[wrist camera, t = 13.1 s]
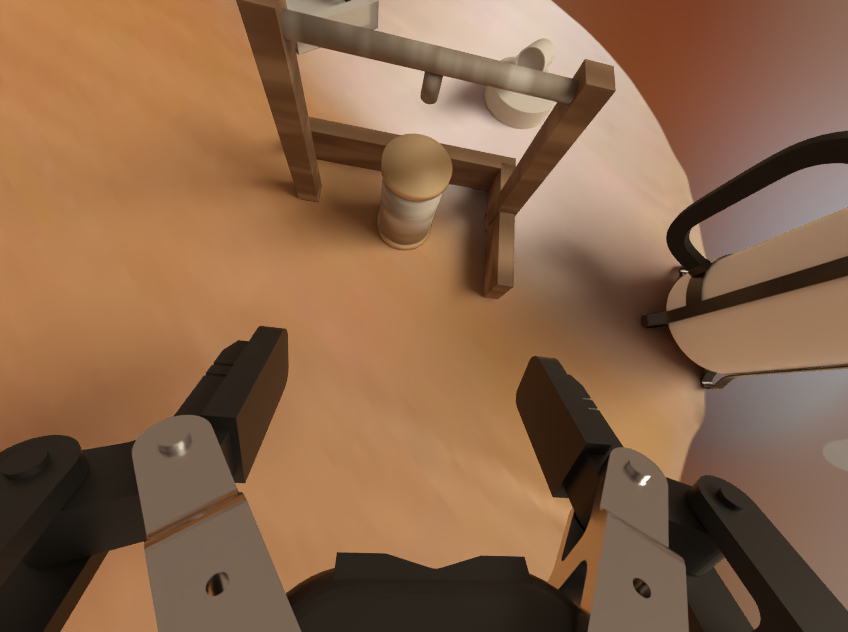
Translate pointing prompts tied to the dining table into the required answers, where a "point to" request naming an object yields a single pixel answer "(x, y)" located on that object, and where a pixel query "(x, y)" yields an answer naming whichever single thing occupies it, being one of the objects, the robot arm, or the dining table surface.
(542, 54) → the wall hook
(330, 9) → the plug tray
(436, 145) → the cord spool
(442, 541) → the dining table surface
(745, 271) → the coffee press
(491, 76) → the wooden frame rack
